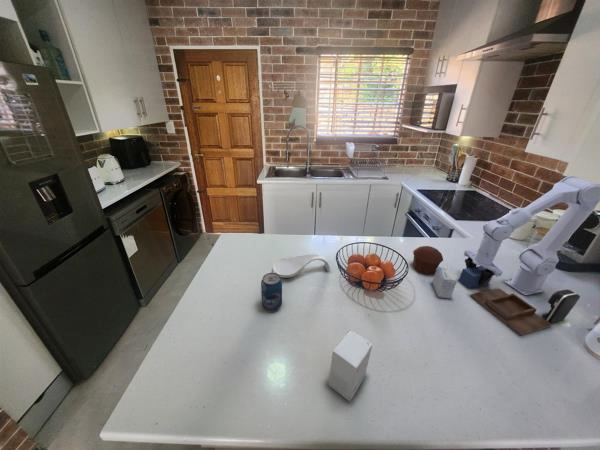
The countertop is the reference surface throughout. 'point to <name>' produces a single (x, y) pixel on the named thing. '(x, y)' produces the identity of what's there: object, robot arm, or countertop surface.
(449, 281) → the medicine box
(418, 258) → the muffin
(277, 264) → the spoon rest
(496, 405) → the countertop surface
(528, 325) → the mounting pad
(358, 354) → the small box
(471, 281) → the blue block
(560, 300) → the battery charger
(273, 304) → the soda can
